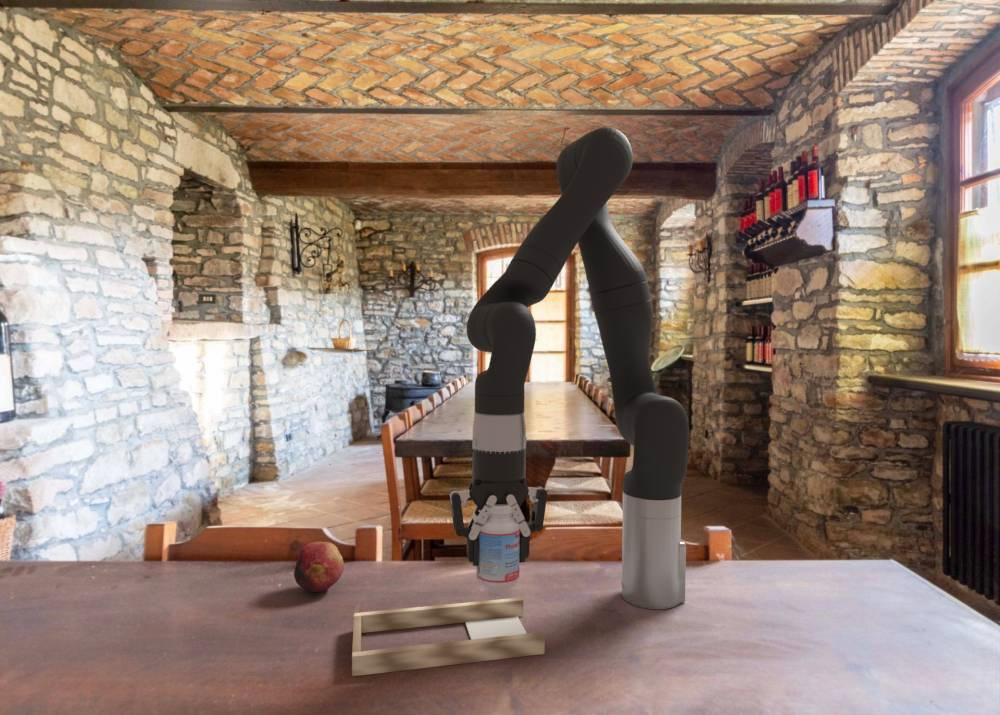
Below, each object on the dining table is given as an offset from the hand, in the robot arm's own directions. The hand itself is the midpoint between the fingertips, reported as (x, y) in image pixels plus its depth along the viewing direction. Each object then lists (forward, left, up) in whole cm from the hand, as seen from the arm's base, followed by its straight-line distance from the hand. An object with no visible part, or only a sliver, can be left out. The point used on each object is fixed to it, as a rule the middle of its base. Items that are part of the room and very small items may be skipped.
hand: (497, 561), depth 84 cm
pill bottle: (0, 0, -3) cm, 3 cm away
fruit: (+26, -21, -11) cm, 35 cm away
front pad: (0, 0, -11) cm, 11 cm away
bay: (+7, 0, -11) cm, 13 cm away
